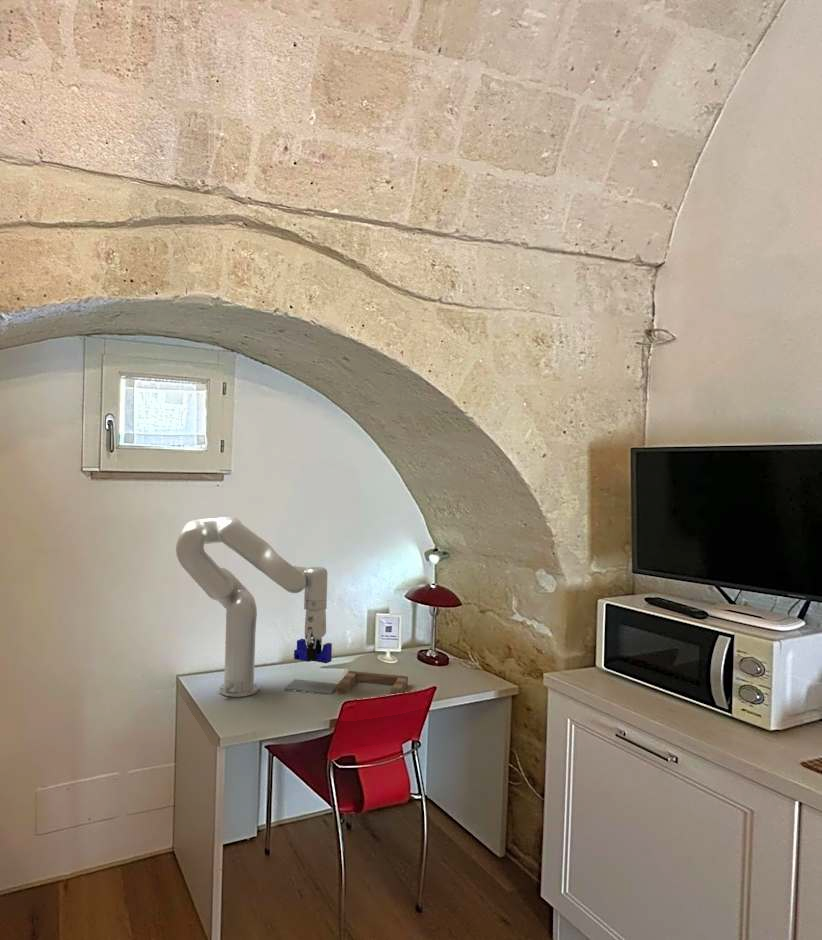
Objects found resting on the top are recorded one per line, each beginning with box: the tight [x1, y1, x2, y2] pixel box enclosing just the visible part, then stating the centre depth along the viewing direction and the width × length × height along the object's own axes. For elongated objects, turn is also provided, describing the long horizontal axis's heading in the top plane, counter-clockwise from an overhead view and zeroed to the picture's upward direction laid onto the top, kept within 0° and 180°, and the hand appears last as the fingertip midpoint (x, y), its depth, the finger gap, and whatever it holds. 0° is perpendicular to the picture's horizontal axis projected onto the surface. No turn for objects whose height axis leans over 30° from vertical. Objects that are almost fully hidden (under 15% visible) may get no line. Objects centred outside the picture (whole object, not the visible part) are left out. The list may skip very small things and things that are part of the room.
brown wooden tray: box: [336, 670, 409, 695], centre depth 247 cm, size 16×21×3 cm
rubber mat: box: [284, 679, 338, 695], centre depth 246 cm, size 10×16×1 cm, turn 80°
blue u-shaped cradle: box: [293, 638, 333, 664], centre depth 245 cm, size 12×4×6 cm, turn 65°
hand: (314, 657), depth 246 cm, fingers closed on blue u-shaped cradle, 4 cm apart
